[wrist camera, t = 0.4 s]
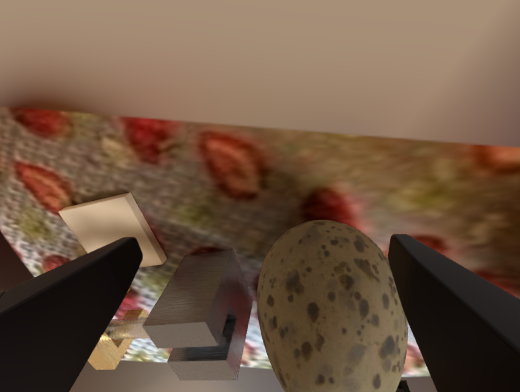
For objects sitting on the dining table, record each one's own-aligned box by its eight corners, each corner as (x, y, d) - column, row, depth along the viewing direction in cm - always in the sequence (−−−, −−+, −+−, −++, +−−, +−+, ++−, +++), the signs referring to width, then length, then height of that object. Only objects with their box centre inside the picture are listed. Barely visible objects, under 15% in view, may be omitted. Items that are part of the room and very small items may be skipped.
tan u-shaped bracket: (147, 315, 32) (114, 369, 26) (132, 316, 32) (96, 369, 27) (125, 281, 29) (83, 333, 24) (108, 284, 30) (63, 334, 24)
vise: (253, 299, 30) (237, 380, 23) (128, 310, 35) (78, 380, 27) (232, 248, 27) (205, 321, 19) (98, 268, 32) (31, 333, 24)
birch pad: (167, 258, 29) (162, 264, 29) (107, 267, 32) (101, 272, 31) (130, 192, 26) (124, 196, 25) (65, 207, 28) (58, 211, 27)
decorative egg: (280, 285, 29) (264, 468, 16) (255, 206, 24) (203, 367, 11) (379, 276, 26) (461, 487, 13) (370, 185, 22) (480, 364, 9)
